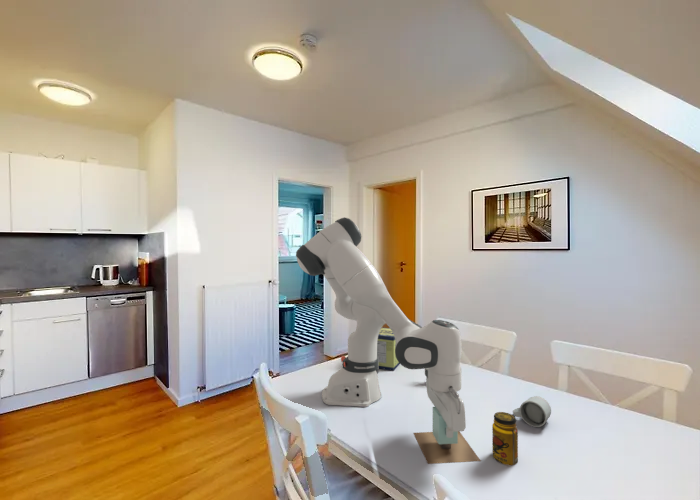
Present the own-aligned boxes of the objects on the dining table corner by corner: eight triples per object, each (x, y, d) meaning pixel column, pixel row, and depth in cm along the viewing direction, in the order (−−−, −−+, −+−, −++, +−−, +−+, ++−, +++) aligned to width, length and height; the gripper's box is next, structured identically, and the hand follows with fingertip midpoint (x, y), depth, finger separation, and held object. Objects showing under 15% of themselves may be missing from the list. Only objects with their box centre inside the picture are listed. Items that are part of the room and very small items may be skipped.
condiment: (486, 462, 86) (487, 416, 86) (496, 447, 93) (496, 404, 92) (517, 474, 81) (517, 426, 81) (525, 458, 88) (525, 413, 88)
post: (441, 448, 90) (441, 425, 90) (438, 443, 93) (438, 420, 93) (451, 448, 90) (451, 424, 90) (447, 442, 93) (447, 419, 93)
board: (427, 467, 84) (427, 463, 84) (413, 436, 98) (413, 432, 98) (480, 464, 85) (480, 460, 85) (459, 434, 99) (459, 430, 99)
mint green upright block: (457, 443, 89) (457, 415, 89) (438, 444, 89) (438, 416, 89) (450, 432, 94) (450, 406, 94) (432, 433, 94) (432, 406, 94)
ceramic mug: (552, 420, 106) (552, 397, 106) (546, 431, 100) (545, 405, 100) (517, 410, 114) (516, 388, 114) (509, 419, 108) (509, 395, 108)
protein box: (403, 360, 163) (403, 329, 163) (394, 371, 149) (394, 337, 149) (382, 357, 167) (382, 327, 167) (372, 367, 153) (372, 334, 153)
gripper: (472, 396, 81) (472, 452, 81) (442, 366, 102) (442, 410, 102) (447, 397, 81) (447, 453, 81) (422, 366, 101) (422, 411, 101)
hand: (444, 429), depth 91 cm, fingers closed on mint green upright block, 5 cm apart
